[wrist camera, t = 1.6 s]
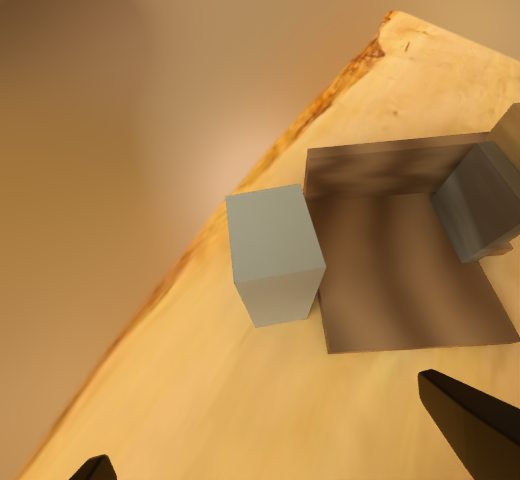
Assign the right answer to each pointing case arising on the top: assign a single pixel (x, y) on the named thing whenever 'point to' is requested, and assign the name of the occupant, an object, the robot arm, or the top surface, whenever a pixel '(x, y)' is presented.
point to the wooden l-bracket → (415, 238)
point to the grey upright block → (274, 254)
